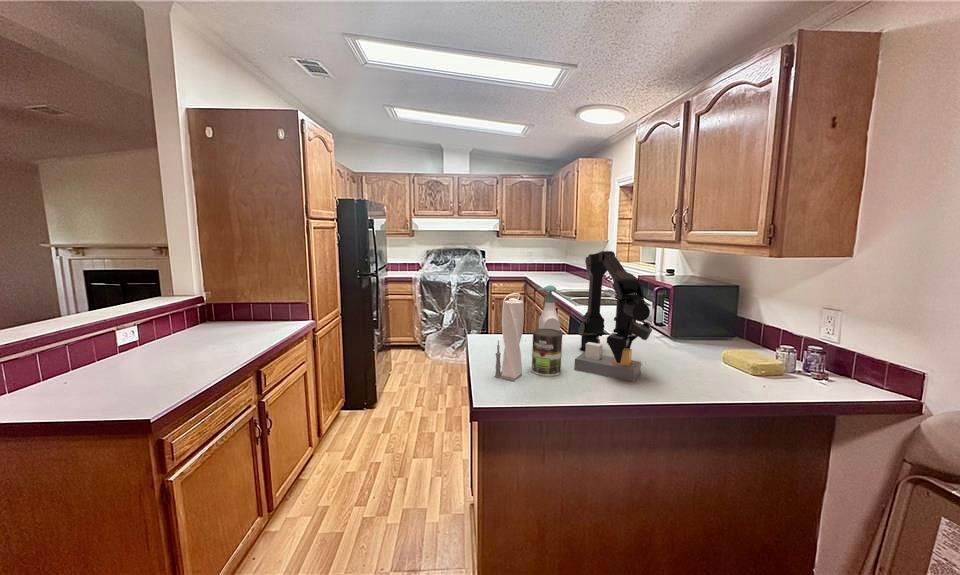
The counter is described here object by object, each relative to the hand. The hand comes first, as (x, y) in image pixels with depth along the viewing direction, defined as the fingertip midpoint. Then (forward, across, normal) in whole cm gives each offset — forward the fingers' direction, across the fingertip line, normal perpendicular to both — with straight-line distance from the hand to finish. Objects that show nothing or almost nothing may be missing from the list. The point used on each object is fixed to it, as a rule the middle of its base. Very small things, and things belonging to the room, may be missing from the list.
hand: (622, 359), depth 134 cm
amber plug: (+5, 0, 0) cm, 5 cm away
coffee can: (+6, -12, +22) cm, 26 cm away
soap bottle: (+6, +7, +32) cm, 33 cm away
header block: (+5, 0, +5) cm, 7 cm away
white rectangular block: (+5, 0, +10) cm, 11 cm away
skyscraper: (+6, -23, +30) cm, 39 cm away
